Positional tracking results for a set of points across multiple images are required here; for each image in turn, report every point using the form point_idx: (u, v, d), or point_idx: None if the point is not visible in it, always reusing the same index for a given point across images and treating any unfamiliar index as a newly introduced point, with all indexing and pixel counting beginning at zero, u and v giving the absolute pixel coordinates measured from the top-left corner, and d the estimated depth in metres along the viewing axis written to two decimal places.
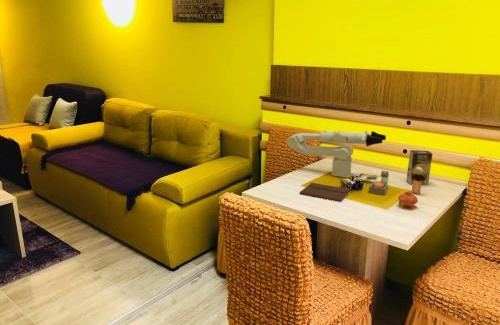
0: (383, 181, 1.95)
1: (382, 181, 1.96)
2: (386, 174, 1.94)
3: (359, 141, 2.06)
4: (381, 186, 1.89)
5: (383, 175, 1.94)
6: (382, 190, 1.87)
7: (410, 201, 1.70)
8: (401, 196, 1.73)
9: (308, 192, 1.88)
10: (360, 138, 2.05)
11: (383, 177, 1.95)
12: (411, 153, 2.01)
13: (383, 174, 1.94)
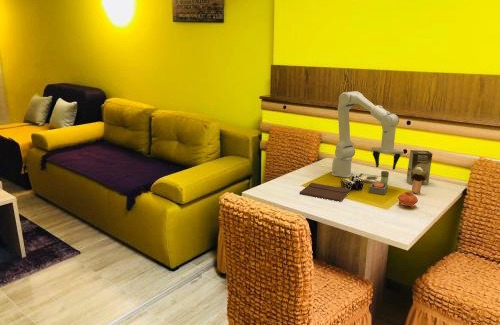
0: (383, 181, 1.95)
1: (382, 181, 1.96)
2: (386, 174, 1.94)
3: None
4: (381, 186, 1.89)
5: (383, 175, 1.94)
6: (382, 190, 1.87)
7: (410, 201, 1.70)
8: (401, 196, 1.73)
9: (308, 192, 1.88)
10: (381, 145, 1.93)
11: (383, 177, 1.95)
12: (411, 153, 2.01)
13: (383, 174, 1.94)
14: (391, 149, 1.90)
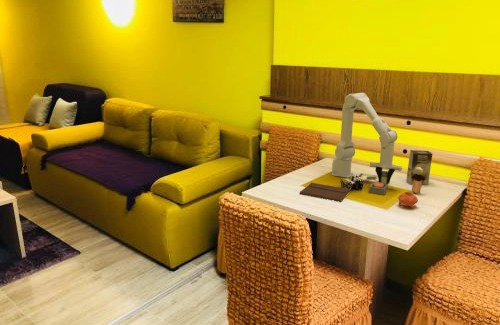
0: (383, 181, 1.95)
1: (382, 181, 1.96)
2: (386, 174, 1.94)
3: None
4: (381, 186, 1.89)
5: (383, 175, 1.94)
6: (382, 190, 1.87)
7: (410, 201, 1.70)
8: (401, 196, 1.73)
9: (308, 192, 1.88)
10: None
11: (383, 177, 1.95)
12: (411, 153, 2.01)
13: (383, 174, 1.94)
14: (389, 165, 1.92)
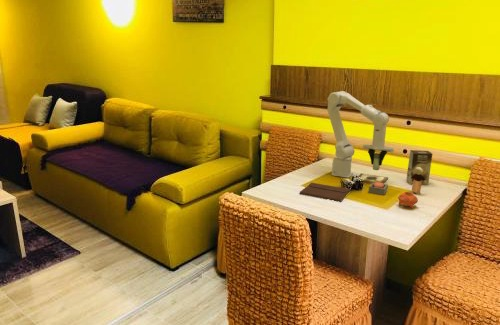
0: (375, 162, 2.01)
1: (375, 163, 2.01)
2: (378, 156, 2.00)
3: None
4: (381, 186, 1.89)
5: (375, 157, 2.00)
6: (382, 190, 1.87)
7: (410, 201, 1.70)
8: (401, 196, 1.73)
9: (308, 192, 1.88)
10: None
11: (375, 159, 2.01)
12: (411, 153, 2.01)
13: (375, 156, 2.00)
14: (382, 146, 1.98)
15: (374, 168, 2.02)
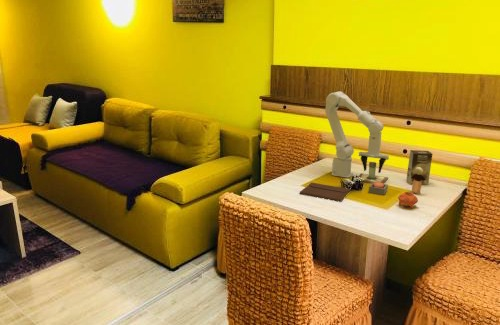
0: (371, 171, 2.06)
1: (370, 171, 2.06)
2: (374, 165, 2.05)
3: None
4: (381, 186, 1.89)
5: (371, 166, 2.05)
6: (382, 190, 1.87)
7: (410, 201, 1.70)
8: (401, 196, 1.73)
9: (308, 192, 1.88)
10: (368, 150, 2.05)
11: (371, 168, 2.06)
12: (411, 153, 2.01)
13: (371, 165, 2.05)
14: (377, 154, 2.02)
15: (370, 177, 2.07)
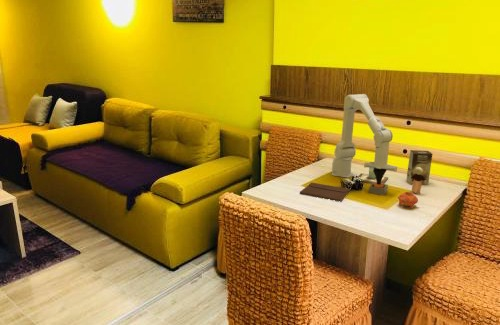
0: (371, 171, 2.06)
1: (370, 171, 2.07)
2: None
3: None
4: (381, 186, 1.89)
5: None
6: (382, 190, 1.87)
7: (410, 201, 1.70)
8: (401, 196, 1.73)
9: (308, 192, 1.89)
10: (374, 161, 1.89)
11: (371, 168, 2.06)
12: (411, 153, 2.01)
13: None
14: (384, 165, 1.86)
15: (370, 177, 2.07)
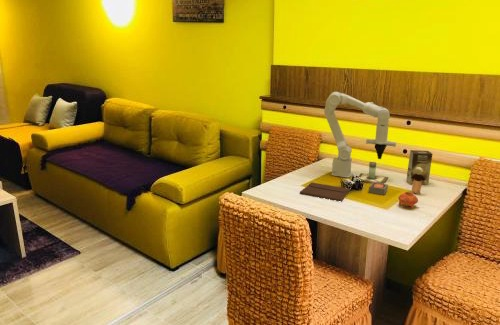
0: (371, 171, 2.06)
1: (370, 171, 2.07)
2: (374, 165, 2.05)
3: None
4: None
5: (371, 166, 2.05)
6: (382, 190, 1.87)
7: (410, 201, 1.70)
8: (401, 196, 1.73)
9: (308, 192, 1.89)
10: None
11: (371, 168, 2.06)
12: (411, 153, 2.01)
13: (371, 165, 2.05)
14: (384, 141, 2.04)
15: (370, 177, 2.07)
